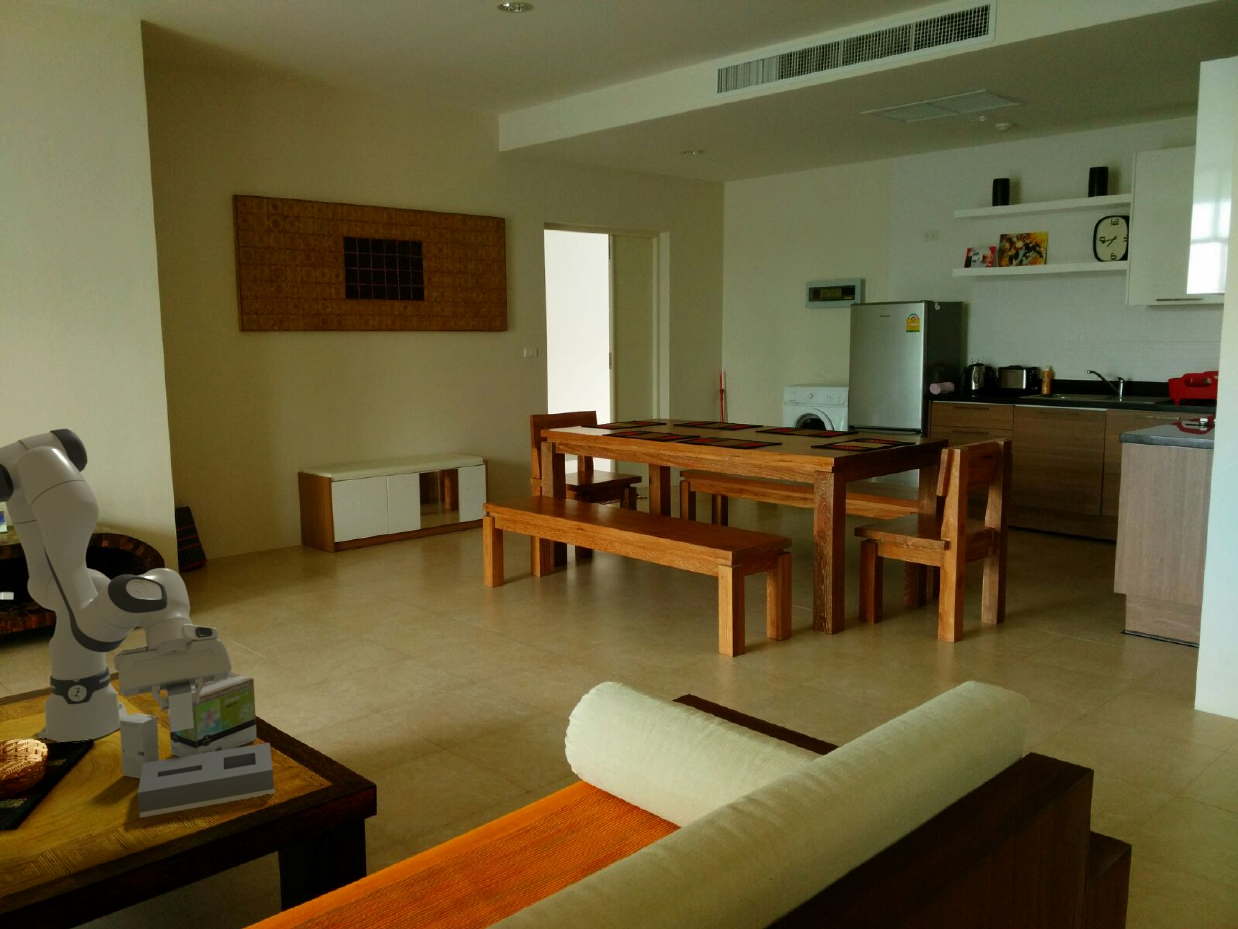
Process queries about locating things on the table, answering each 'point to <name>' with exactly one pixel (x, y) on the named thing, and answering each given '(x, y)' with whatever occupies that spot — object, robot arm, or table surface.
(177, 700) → the grey square-topped block
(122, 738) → the skincare box
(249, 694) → the tea box
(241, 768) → the caddy
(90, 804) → the table surface
